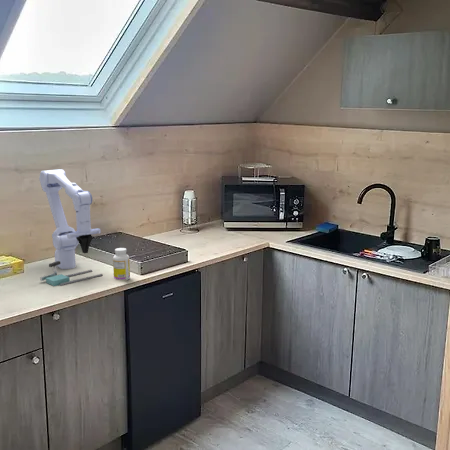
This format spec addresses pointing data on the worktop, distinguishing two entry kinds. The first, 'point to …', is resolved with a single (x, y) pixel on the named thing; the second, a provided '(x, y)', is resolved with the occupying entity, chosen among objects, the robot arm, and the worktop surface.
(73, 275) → the channel
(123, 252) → the supplement bottle
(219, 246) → the worktop surface
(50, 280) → the cover
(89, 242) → the robot arm
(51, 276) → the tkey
